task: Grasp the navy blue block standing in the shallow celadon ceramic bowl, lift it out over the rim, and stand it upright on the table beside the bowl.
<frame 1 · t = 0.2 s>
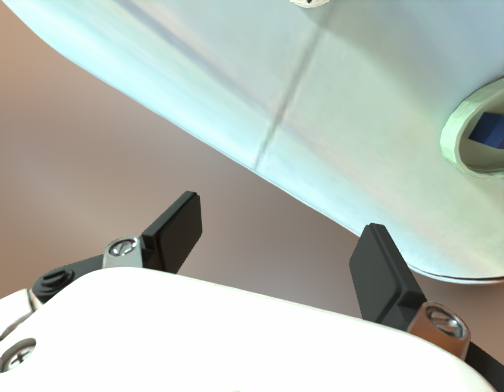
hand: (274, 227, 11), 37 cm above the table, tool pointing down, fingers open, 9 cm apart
navy blue block: (497, 127, 36), resting on bowl
bowl: (496, 127, 36), on the table
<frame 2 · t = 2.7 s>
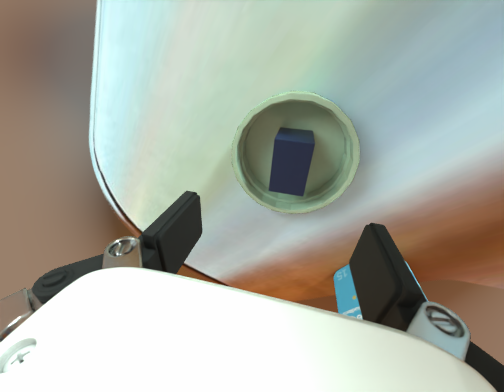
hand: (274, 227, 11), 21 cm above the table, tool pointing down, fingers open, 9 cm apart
data package: (365, 264, 38), on the table
navy blue block: (292, 152, 30), resting on bowl
bowl: (292, 151, 30), on the table
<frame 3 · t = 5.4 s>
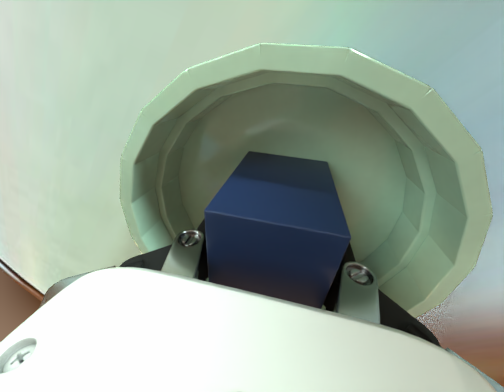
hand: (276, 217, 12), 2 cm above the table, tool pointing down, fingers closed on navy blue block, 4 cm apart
navy blue block: (278, 206, 13), resting on bowl, touching gripper
bowl: (279, 202, 14), on the table
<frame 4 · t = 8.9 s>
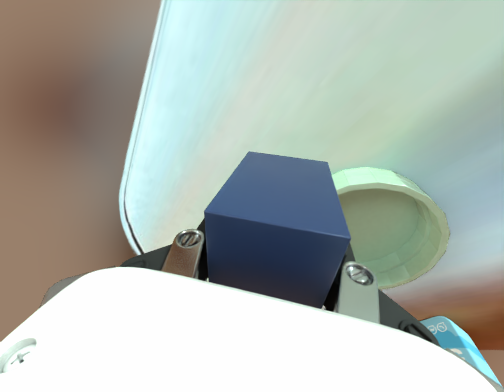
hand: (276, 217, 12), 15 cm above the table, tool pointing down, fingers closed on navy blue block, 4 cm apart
data package: (416, 329, 36), on the table
navy blue block: (278, 206, 13), point 13 cm above the table, touching gripper
bowl: (354, 222, 28), on the table
when the fingers open (1 cm above the table, at t = 12.3 s): navy blue block stays where it is, on the table.
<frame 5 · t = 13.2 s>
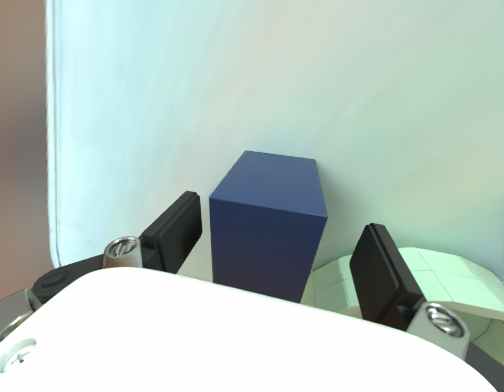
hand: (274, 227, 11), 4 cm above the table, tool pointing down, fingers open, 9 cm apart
navy blue block: (272, 200, 15), on the table
bowl: (385, 312, 18), on the table
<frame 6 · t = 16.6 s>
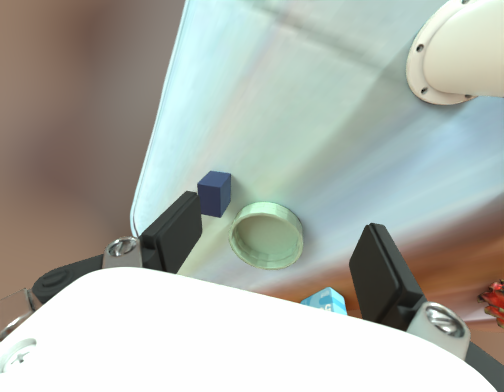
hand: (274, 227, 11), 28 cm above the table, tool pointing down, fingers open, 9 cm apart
data package: (320, 297, 56), on the table
navy blue block: (220, 186, 45), on the table
dragon fruit: (496, 289, 43), on the table
bowl: (267, 230, 48), on the table
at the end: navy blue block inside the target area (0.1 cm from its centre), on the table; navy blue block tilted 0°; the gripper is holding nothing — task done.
